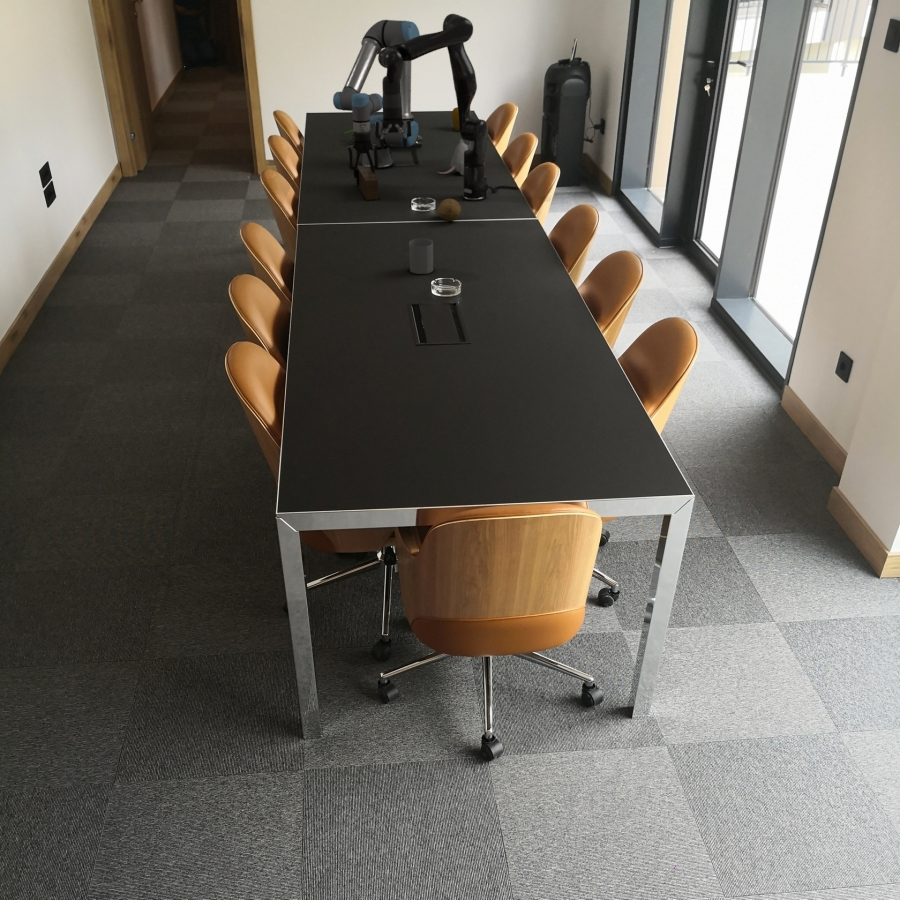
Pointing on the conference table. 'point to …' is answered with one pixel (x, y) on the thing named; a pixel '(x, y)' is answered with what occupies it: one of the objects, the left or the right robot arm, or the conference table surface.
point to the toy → (458, 158)
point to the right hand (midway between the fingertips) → (393, 148)
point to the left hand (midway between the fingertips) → (364, 184)
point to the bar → (368, 182)
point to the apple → (455, 119)
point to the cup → (421, 256)
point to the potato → (449, 209)
